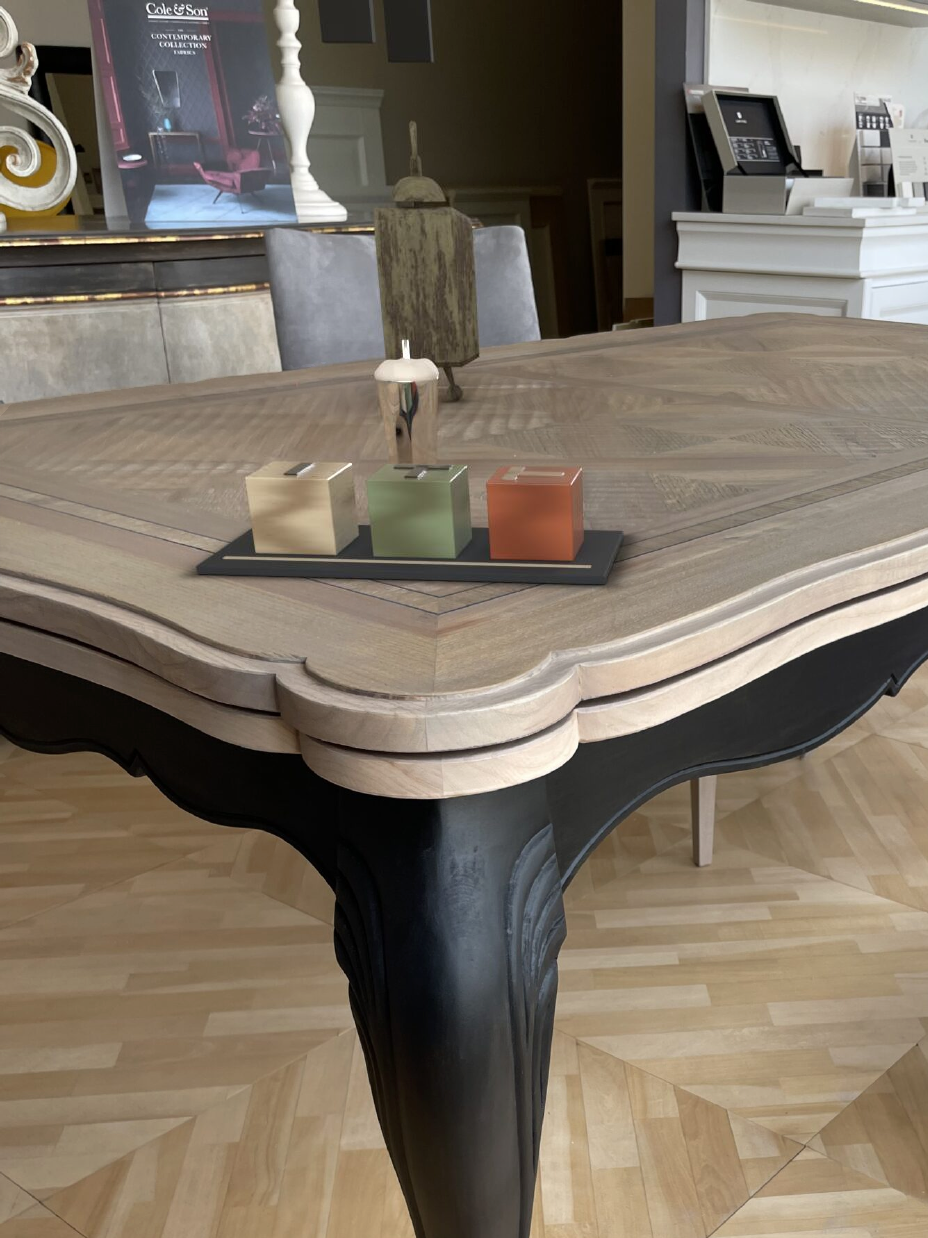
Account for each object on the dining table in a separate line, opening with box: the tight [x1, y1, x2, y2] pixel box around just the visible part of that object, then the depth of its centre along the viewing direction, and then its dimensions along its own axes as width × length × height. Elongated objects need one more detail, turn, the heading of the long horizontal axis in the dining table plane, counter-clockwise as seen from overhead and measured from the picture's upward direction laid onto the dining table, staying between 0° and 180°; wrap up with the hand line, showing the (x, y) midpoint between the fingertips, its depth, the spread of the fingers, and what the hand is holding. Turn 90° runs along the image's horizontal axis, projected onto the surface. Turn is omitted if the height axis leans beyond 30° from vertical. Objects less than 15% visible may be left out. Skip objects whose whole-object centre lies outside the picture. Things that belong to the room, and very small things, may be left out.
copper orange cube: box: [485, 465, 585, 561], centre depth 79 cm, size 5×5×5 cm
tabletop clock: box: [373, 120, 480, 402], centre depth 129 cm, size 14×9×25 cm, turn 9°
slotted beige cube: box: [244, 460, 359, 555], centre depth 80 cm, size 5×5×5 cm
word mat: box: [195, 524, 624, 586], centre depth 80 cm, size 24×11×1 cm, turn 86°
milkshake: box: [373, 340, 440, 464], centre depth 95 cm, size 4×5×10 cm
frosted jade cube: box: [365, 462, 473, 559], centre depth 79 cm, size 5×5×5 cm
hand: (382, 54), depth 75 cm, fingers open, 13 cm apart
